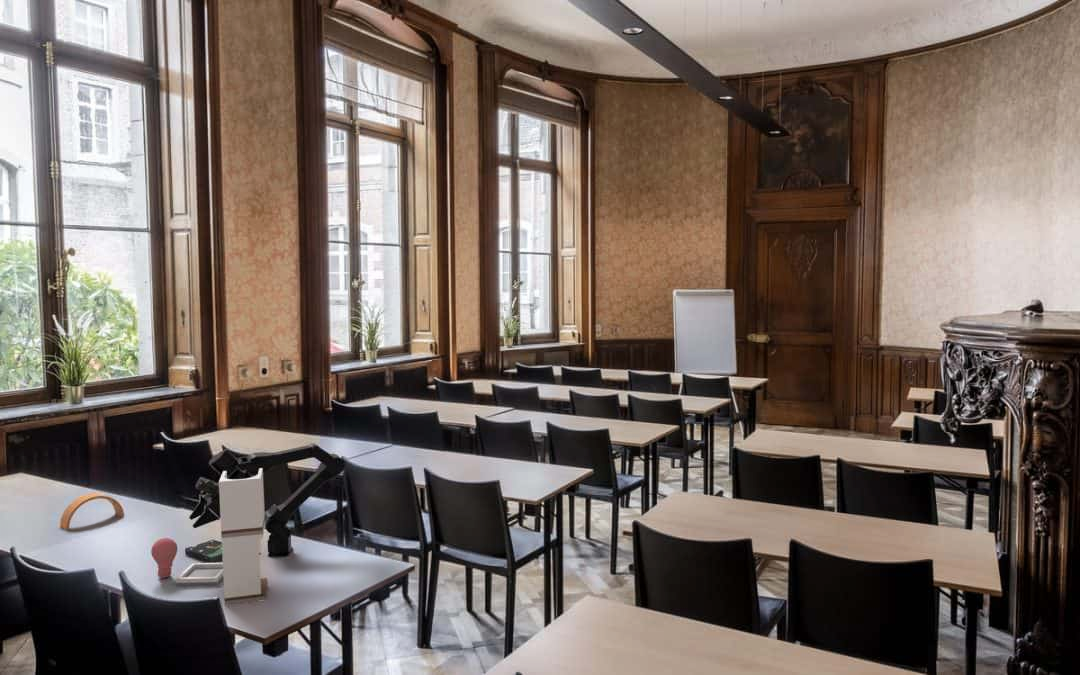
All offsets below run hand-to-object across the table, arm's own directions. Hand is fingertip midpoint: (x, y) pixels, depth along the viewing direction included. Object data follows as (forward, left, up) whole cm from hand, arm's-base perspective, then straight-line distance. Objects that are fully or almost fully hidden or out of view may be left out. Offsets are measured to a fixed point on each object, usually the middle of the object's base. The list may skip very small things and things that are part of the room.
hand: (191, 522), depth 238 cm
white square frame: (-6, +7, -15) cm, 17 cm away
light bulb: (+6, +6, -15) cm, 17 cm away
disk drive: (-1, -12, -16) cm, 20 cm away
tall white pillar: (-23, +20, -15) cm, 34 cm away
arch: (+57, -49, -15) cm, 76 cm away
